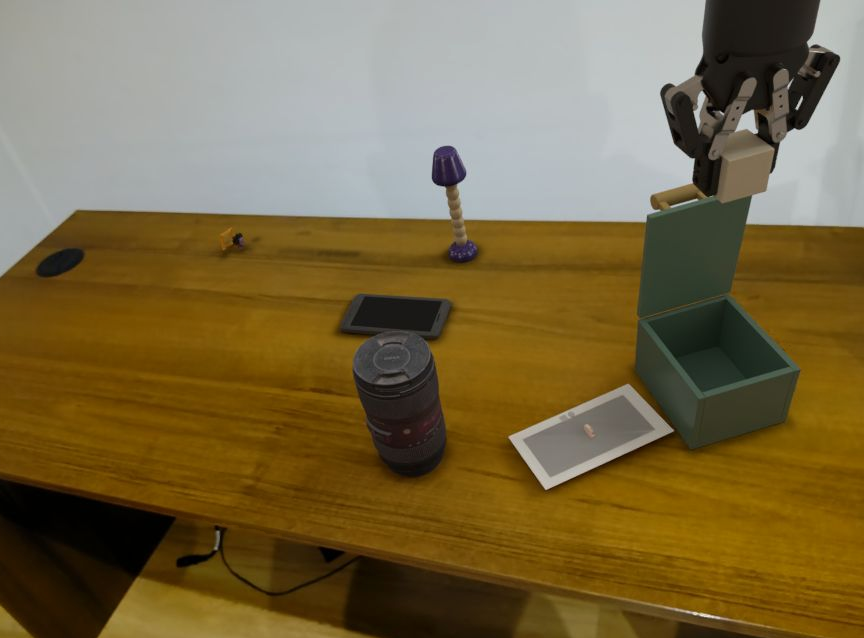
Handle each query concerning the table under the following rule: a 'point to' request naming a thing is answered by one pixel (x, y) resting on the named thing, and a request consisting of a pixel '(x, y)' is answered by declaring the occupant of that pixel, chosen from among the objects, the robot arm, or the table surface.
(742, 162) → the block
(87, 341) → the table surface
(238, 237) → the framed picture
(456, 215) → the toy lamp
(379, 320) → the cell phone
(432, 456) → the camera lens
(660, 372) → the chest
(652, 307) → the lid
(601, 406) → the touchpad
